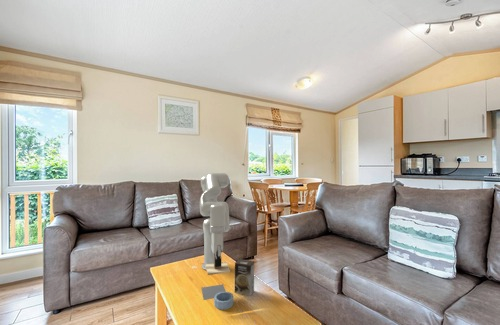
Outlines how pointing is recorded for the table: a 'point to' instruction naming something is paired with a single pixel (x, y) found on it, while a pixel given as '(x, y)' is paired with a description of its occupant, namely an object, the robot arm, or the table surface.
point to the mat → (212, 291)
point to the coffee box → (244, 277)
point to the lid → (217, 268)
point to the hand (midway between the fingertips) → (217, 264)
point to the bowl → (223, 300)
